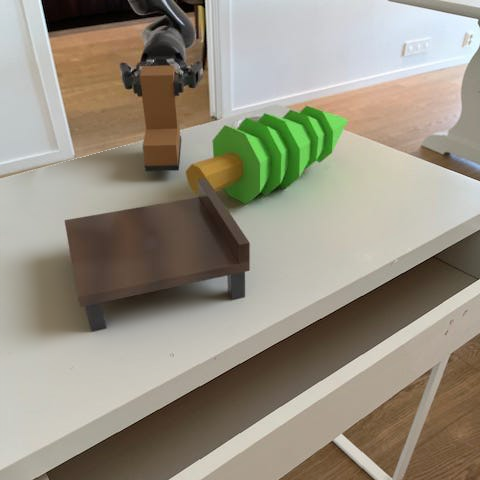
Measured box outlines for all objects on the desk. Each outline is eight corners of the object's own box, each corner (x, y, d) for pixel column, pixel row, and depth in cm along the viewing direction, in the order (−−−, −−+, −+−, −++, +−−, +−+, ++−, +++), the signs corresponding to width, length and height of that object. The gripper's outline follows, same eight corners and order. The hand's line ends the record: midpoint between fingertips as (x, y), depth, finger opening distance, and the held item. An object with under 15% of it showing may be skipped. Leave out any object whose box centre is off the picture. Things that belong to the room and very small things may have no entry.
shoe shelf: (88, 335, 53) (72, 278, 49) (73, 254, 65) (59, 201, 60) (249, 298, 58) (249, 242, 53) (209, 228, 69) (206, 177, 64)
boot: (145, 171, 79) (134, 89, 71) (151, 141, 88) (141, 65, 80) (178, 170, 79) (171, 89, 71) (181, 140, 88) (175, 65, 80)
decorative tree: (178, 121, 66) (338, 67, 79) (171, 184, 76) (314, 127, 89) (231, 179, 63) (388, 113, 76) (216, 238, 72) (358, 170, 86)
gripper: (119, 35, 87) (105, 63, 74) (203, 34, 88) (204, 61, 75) (126, 82, 92) (114, 115, 79) (205, 80, 93) (206, 113, 80)
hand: (157, 89), depth 77 cm, fingers closed on boot, 5 cm apart
